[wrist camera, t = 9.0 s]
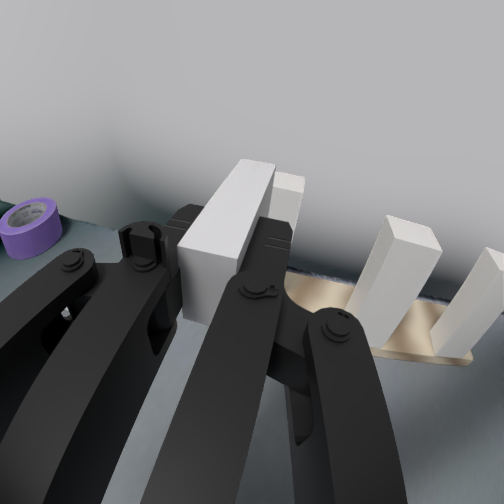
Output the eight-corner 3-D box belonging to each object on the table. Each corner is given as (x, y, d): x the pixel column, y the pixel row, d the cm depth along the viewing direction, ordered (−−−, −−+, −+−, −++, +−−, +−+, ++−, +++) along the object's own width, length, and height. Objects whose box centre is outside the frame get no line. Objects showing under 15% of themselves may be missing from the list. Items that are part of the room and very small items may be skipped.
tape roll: (-3, 246, 36) (-12, 223, 33) (40, 214, 45) (35, 192, 42) (26, 269, 34) (15, 242, 31) (74, 230, 43) (69, 204, 40)
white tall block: (378, 321, 33) (429, 226, 24) (381, 348, 30) (442, 251, 21) (341, 314, 33) (385, 213, 25) (341, 342, 30) (394, 237, 21)
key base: (452, 314, 37) (456, 308, 36) (467, 366, 29) (473, 359, 28) (227, 266, 40) (228, 257, 39) (203, 320, 32) (204, 311, 31)
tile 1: (455, 334, 32) (510, 255, 23) (461, 358, 28) (525, 278, 20) (428, 330, 32) (484, 245, 24) (434, 355, 29) (499, 269, 20)
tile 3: (281, 278, 37) (305, 176, 29) (276, 301, 34) (303, 193, 25) (243, 269, 38) (257, 166, 29) (235, 291, 34) (248, 181, 26)
